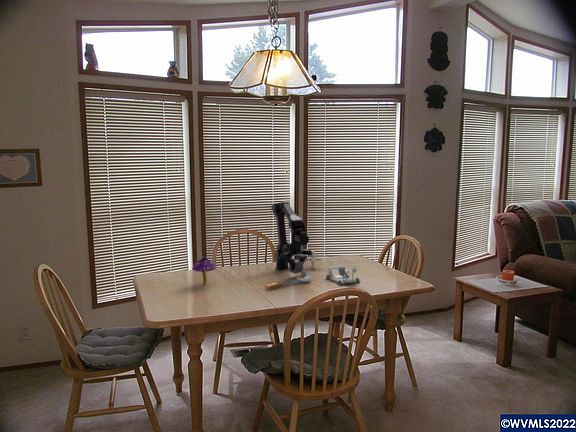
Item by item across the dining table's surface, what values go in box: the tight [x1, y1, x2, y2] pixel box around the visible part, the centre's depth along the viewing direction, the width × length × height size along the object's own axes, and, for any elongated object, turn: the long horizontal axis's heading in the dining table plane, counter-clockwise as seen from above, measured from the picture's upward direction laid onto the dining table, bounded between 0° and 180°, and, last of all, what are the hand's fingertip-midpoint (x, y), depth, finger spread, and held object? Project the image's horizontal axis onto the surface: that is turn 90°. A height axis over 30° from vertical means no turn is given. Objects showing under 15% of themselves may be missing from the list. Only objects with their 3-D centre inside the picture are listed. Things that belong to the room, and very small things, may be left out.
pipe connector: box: [305, 250, 322, 269], centre depth 272 cm, size 10×10×10 cm
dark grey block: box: [288, 259, 304, 274], centre depth 251 cm, size 5×5×6 cm
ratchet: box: [264, 270, 311, 291], centre depth 236 cm, size 28×7×6 cm, turn 128°
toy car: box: [326, 265, 361, 287], centre depth 242 cm, size 18×10×12 cm
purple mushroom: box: [191, 256, 217, 286], centre depth 237 cm, size 12×12×15 cm
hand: (296, 269), depth 252 cm, fingers closed on dark grey block, 5 cm apart
